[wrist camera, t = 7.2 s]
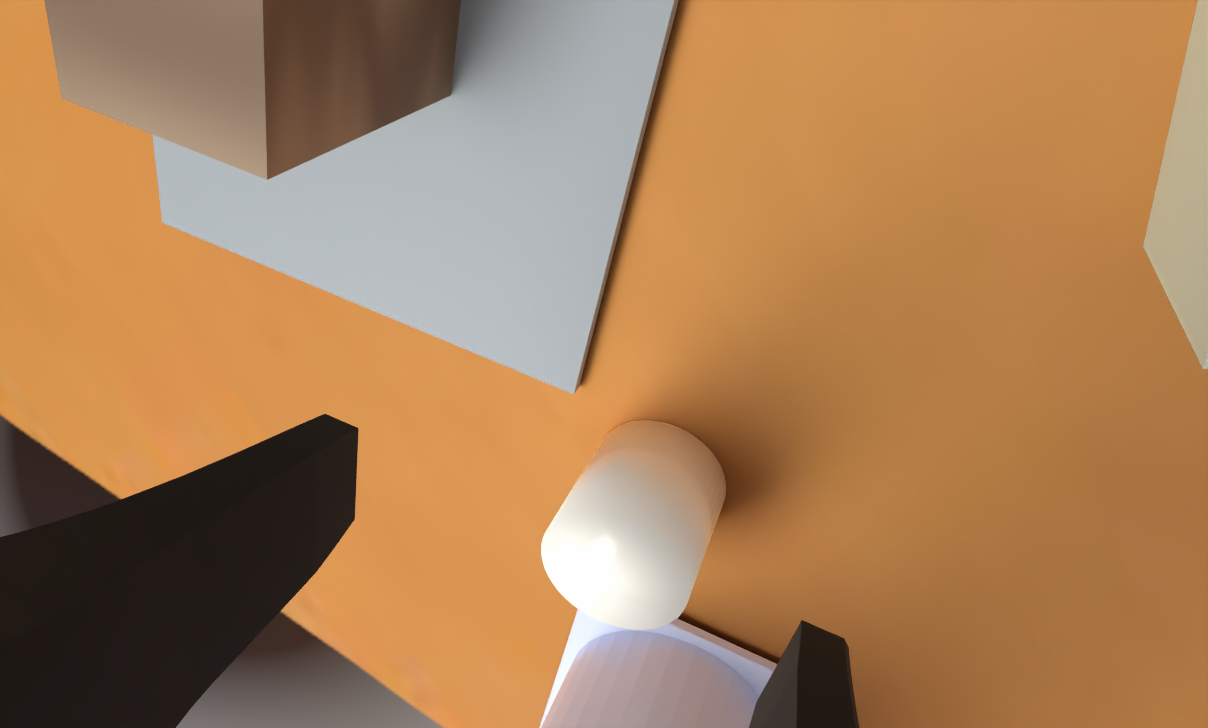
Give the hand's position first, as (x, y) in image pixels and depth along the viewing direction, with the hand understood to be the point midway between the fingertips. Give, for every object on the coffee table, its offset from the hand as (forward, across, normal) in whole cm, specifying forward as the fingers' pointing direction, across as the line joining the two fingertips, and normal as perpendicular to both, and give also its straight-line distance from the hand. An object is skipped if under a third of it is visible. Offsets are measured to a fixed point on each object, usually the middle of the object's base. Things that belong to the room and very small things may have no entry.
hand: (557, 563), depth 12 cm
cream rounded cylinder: (+10, 0, +6) cm, 12 cm away
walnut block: (+9, +10, -5) cm, 14 cm away
